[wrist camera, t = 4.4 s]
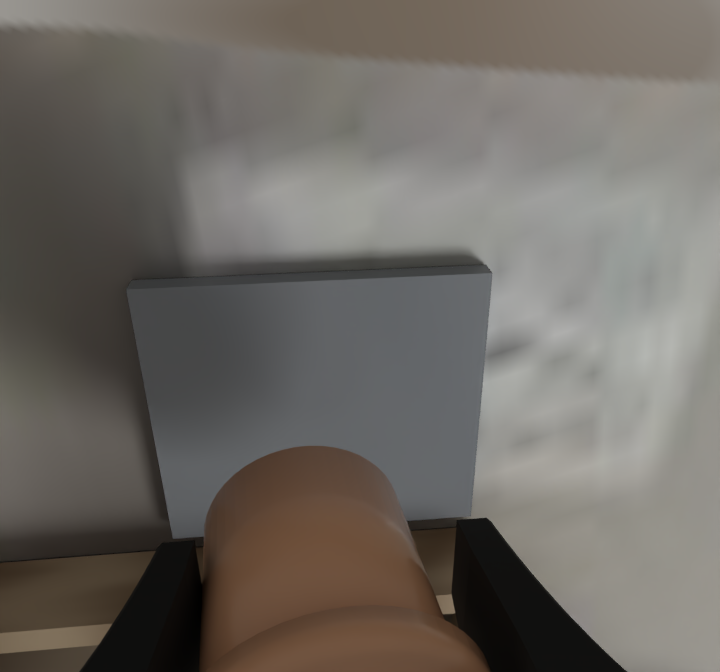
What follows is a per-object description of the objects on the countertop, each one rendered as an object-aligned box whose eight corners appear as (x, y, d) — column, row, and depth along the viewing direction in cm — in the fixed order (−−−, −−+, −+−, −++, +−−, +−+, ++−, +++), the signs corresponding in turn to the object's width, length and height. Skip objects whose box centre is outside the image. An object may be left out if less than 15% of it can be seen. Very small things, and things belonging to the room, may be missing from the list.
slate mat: (486, 264, 17) (492, 272, 16) (465, 503, 20) (470, 516, 20) (131, 280, 16) (126, 289, 15) (175, 524, 20) (172, 538, 19)
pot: (429, 424, 14) (542, 633, 9) (403, 603, 16) (484, 851, 11) (180, 434, 13) (155, 675, 8) (187, 624, 15) (171, 909, 10)
